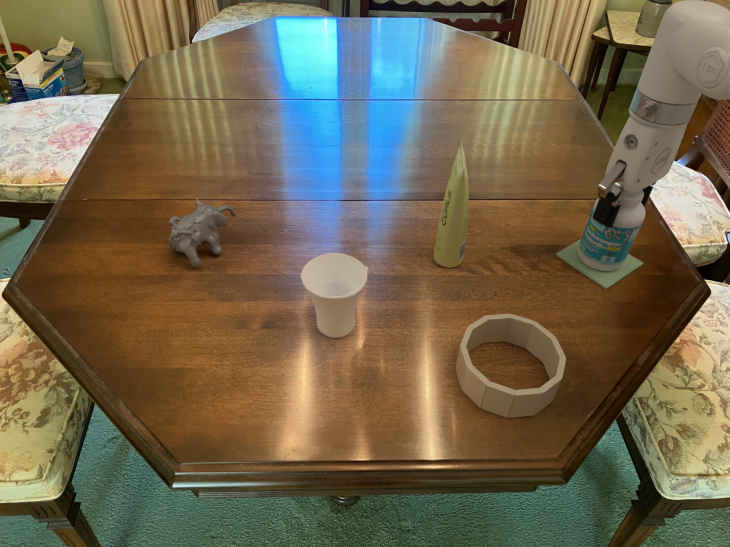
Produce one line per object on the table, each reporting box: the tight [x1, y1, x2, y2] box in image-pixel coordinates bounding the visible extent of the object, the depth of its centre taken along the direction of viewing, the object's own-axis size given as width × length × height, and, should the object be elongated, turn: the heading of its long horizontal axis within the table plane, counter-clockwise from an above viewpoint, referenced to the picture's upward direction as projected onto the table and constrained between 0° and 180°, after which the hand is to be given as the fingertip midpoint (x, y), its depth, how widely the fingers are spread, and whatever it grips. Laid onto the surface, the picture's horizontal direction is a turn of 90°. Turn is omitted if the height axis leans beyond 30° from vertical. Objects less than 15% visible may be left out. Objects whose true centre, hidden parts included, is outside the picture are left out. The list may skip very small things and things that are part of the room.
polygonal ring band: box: [454, 313, 567, 419], centre depth 72 cm, size 13×13×5 cm
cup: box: [299, 252, 370, 339], centre depth 77 cm, size 9×9×10 cm
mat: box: [554, 238, 644, 290], centre depth 91 cm, size 10×10×1 cm
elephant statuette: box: [168, 198, 237, 269], centre depth 90 cm, size 9×12×8 cm
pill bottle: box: [578, 181, 646, 271], centre depth 86 cm, size 8×7×14 cm
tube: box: [433, 141, 470, 269], centre depth 84 cm, size 6×5×20 cm
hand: (618, 212), depth 84 cm, fingers closed on pill bottle, 7 cm apart
